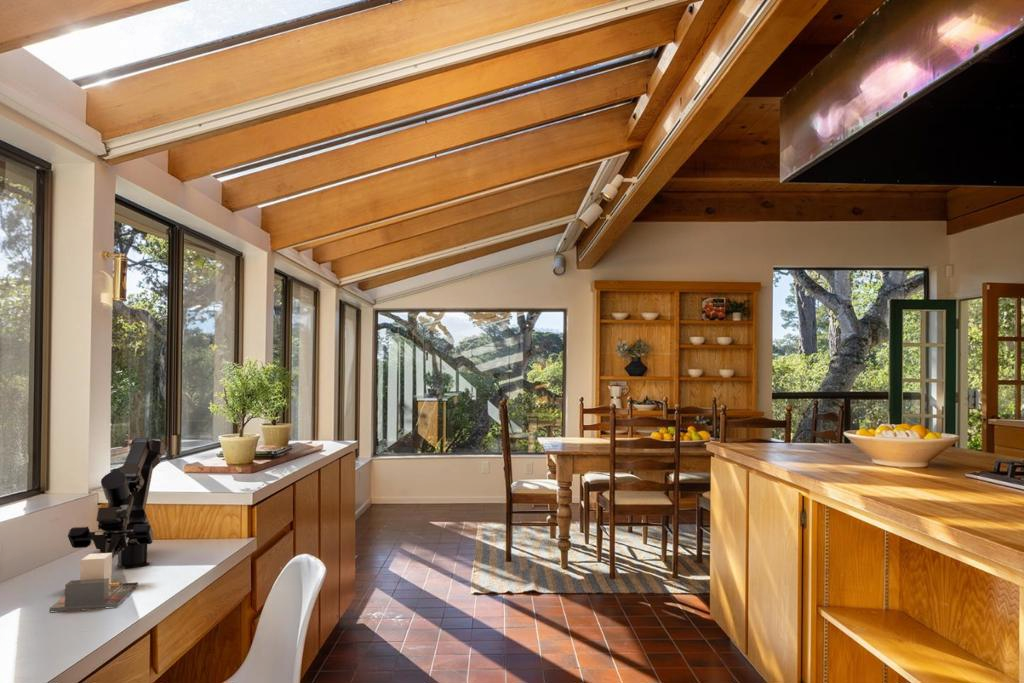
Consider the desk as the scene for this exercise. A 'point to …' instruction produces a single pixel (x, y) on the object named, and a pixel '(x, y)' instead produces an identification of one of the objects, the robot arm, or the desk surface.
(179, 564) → the desk surface
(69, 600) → the gauge base
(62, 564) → the desk surface
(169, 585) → the desk surface
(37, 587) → the desk surface
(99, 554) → the cream box
